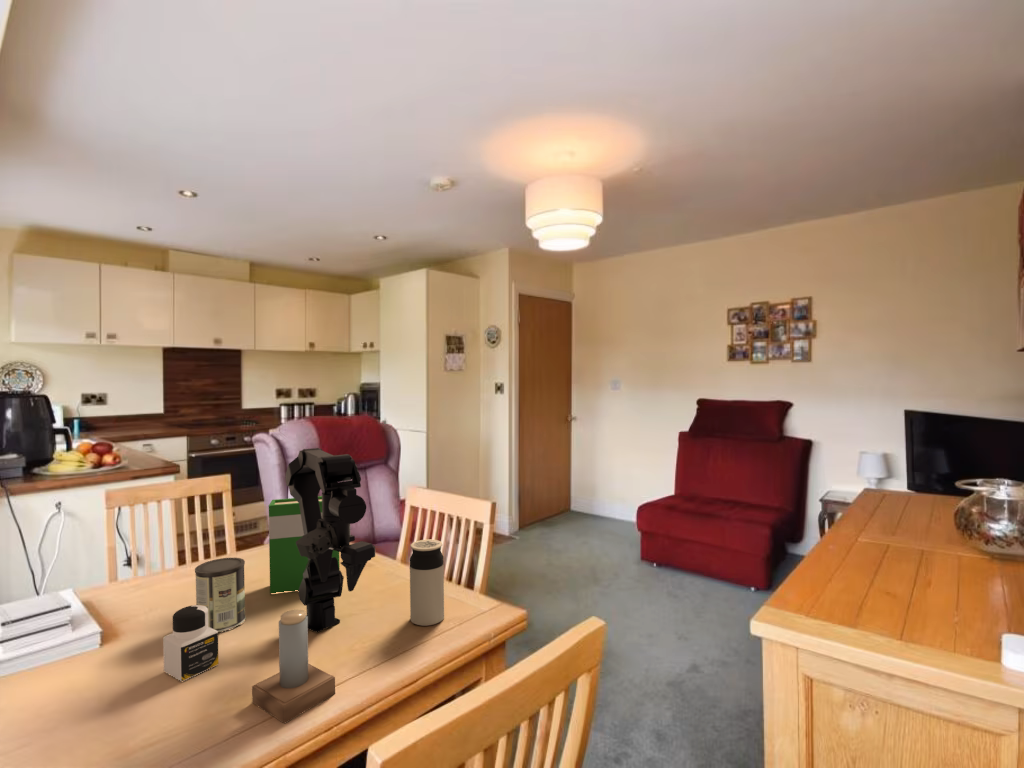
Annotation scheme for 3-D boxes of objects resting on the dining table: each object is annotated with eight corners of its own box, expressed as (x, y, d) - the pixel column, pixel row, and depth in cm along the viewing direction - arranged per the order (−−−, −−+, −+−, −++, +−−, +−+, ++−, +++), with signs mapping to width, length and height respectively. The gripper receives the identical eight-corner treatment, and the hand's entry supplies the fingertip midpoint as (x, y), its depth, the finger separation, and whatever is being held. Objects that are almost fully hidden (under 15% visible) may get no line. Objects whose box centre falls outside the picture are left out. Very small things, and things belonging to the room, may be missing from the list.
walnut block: (252, 702, 93) (252, 685, 93) (303, 676, 101) (302, 659, 101) (284, 723, 87) (283, 704, 87) (335, 693, 95) (335, 676, 95)
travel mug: (437, 628, 120) (436, 550, 120) (405, 625, 122) (404, 548, 122) (448, 613, 128) (447, 539, 128) (418, 610, 130) (417, 538, 129)
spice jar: (273, 686, 93) (272, 618, 92) (291, 671, 97) (290, 607, 97) (296, 690, 91) (295, 621, 91) (314, 675, 96) (313, 610, 96)
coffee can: (226, 611, 130) (225, 554, 130) (255, 618, 126) (254, 560, 126) (185, 629, 121) (184, 568, 121) (215, 638, 117) (214, 575, 117)
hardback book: (339, 576, 152) (338, 494, 152) (339, 586, 145) (338, 500, 145) (273, 584, 147) (272, 499, 147) (270, 595, 140) (268, 505, 140)
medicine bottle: (181, 683, 99) (180, 620, 99) (163, 672, 103) (162, 611, 103) (219, 665, 105) (218, 606, 105) (200, 655, 109) (199, 598, 109)
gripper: (276, 515, 111) (277, 589, 111) (330, 529, 100) (332, 610, 100) (322, 505, 120) (323, 572, 120) (376, 516, 109) (377, 591, 110)
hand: (337, 586), depth 112 cm, fingers open, 9 cm apart
